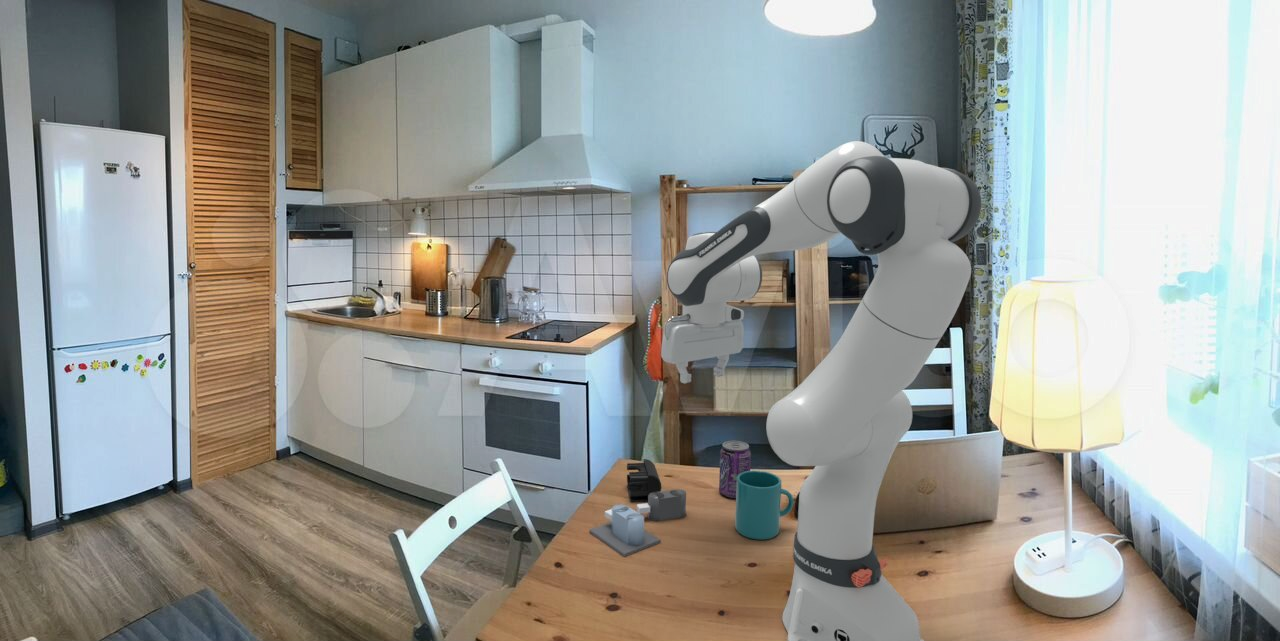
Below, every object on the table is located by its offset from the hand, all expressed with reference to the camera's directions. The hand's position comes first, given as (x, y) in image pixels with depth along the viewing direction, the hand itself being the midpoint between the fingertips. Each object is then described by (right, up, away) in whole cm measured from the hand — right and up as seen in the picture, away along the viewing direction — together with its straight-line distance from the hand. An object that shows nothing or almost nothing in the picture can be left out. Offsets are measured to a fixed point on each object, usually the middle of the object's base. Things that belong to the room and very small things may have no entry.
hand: (702, 379), depth 127 cm
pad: (-16, -32, -3) cm, 36 cm away
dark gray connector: (-8, -30, +7) cm, 32 cm away
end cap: (-12, -29, +18) cm, 36 cm away
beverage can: (+9, -29, +18) cm, 36 cm away
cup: (+13, -32, +1) cm, 34 cm away
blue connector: (-16, -31, -3) cm, 35 cm away
